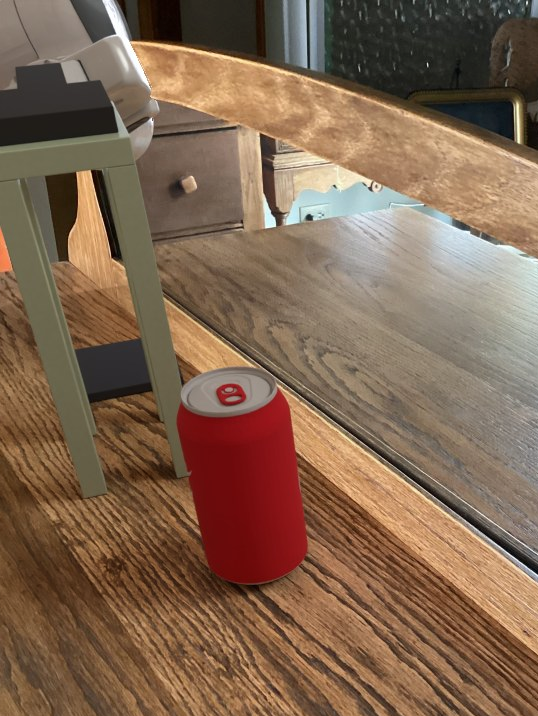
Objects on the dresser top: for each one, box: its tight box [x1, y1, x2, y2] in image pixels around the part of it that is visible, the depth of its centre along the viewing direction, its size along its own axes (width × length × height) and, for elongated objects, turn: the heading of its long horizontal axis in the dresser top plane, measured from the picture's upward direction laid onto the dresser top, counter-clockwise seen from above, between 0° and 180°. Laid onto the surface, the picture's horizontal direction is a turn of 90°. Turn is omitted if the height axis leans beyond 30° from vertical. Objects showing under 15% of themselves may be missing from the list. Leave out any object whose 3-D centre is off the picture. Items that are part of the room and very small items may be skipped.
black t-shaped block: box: [0, 63, 118, 147], centre depth 55 cm, size 17×7×1 cm, turn 20°
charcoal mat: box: [74, 337, 185, 403], centre depth 76 cm, size 9×9×1 cm
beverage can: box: [176, 365, 309, 586], centre depth 52 cm, size 6×6×12 cm
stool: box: [0, 101, 188, 499], centre depth 59 cm, size 10×8×22 cm
